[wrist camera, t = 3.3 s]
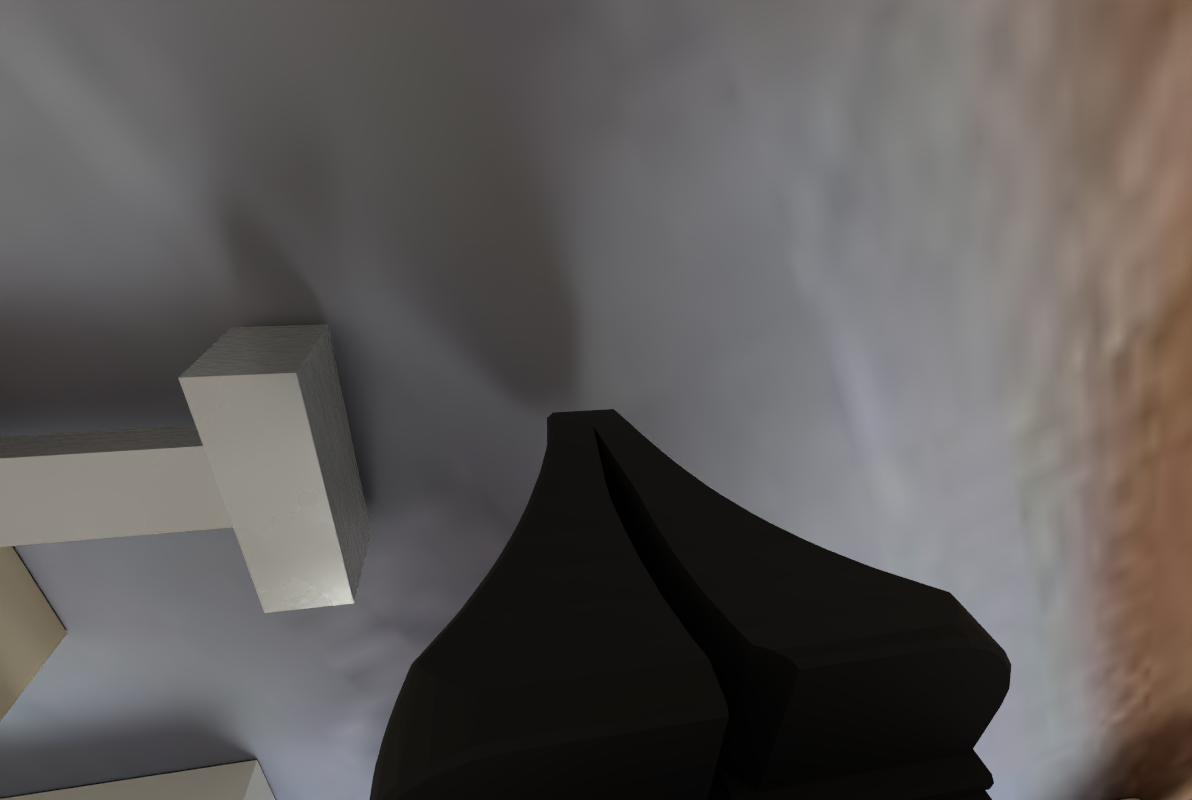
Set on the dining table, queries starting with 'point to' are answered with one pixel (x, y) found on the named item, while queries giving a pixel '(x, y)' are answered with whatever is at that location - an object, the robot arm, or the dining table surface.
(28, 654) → the socket block
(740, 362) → the dining table surface
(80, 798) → the rack
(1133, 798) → the lidded jar
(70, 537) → the white t-shaped block
